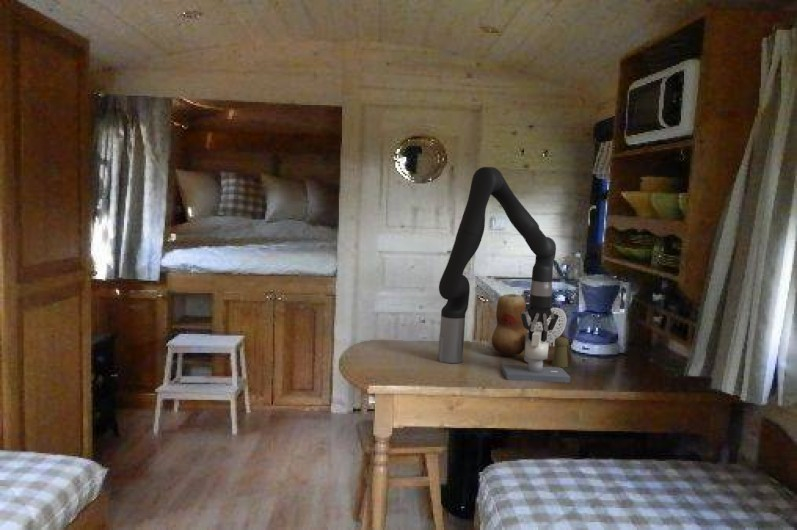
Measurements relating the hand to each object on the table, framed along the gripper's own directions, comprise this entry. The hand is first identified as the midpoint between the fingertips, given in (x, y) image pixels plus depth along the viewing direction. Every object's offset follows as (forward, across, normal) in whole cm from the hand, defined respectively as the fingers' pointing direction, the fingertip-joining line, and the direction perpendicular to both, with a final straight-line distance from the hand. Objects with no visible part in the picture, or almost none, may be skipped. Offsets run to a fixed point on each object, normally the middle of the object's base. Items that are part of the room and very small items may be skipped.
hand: (537, 341), depth 218 cm
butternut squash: (+13, -3, +27) cm, 31 cm away
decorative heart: (+13, +17, +45) cm, 50 cm away
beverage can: (+13, +4, +19) cm, 23 cm away
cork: (+13, +14, +15) cm, 24 cm away
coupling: (+6, 0, 0) cm, 6 cm away
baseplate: (+13, 0, 0) cm, 13 cm away
